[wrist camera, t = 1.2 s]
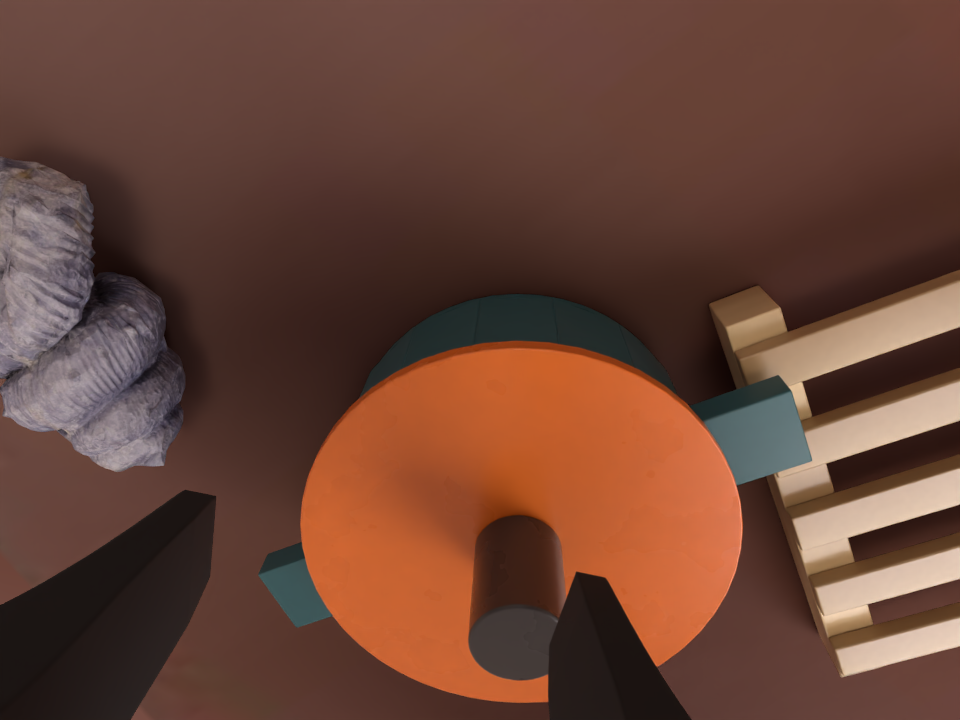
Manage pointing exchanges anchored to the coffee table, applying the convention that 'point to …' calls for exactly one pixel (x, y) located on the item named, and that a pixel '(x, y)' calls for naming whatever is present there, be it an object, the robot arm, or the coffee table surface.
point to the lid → (516, 513)
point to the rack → (851, 430)
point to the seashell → (79, 329)
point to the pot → (522, 317)
